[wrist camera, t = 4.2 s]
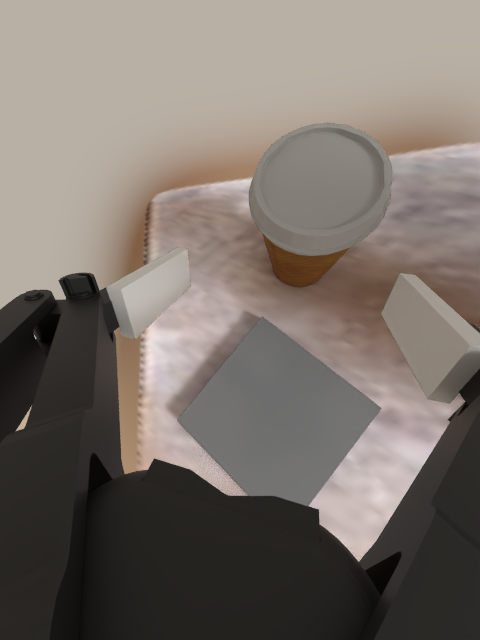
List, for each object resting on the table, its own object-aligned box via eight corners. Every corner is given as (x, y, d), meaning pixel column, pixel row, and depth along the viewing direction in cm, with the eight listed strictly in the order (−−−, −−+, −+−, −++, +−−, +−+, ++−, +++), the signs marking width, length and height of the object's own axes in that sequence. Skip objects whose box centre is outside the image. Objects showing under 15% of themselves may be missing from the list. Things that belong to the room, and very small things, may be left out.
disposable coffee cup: (325, 215, 27) (365, 97, 15) (355, 286, 24) (429, 213, 13) (249, 239, 27) (231, 146, 16) (271, 310, 25) (269, 263, 14)
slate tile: (262, 319, 25) (262, 316, 24) (374, 405, 22) (381, 408, 20) (182, 417, 24) (176, 420, 23) (285, 523, 21) (286, 534, 19)
